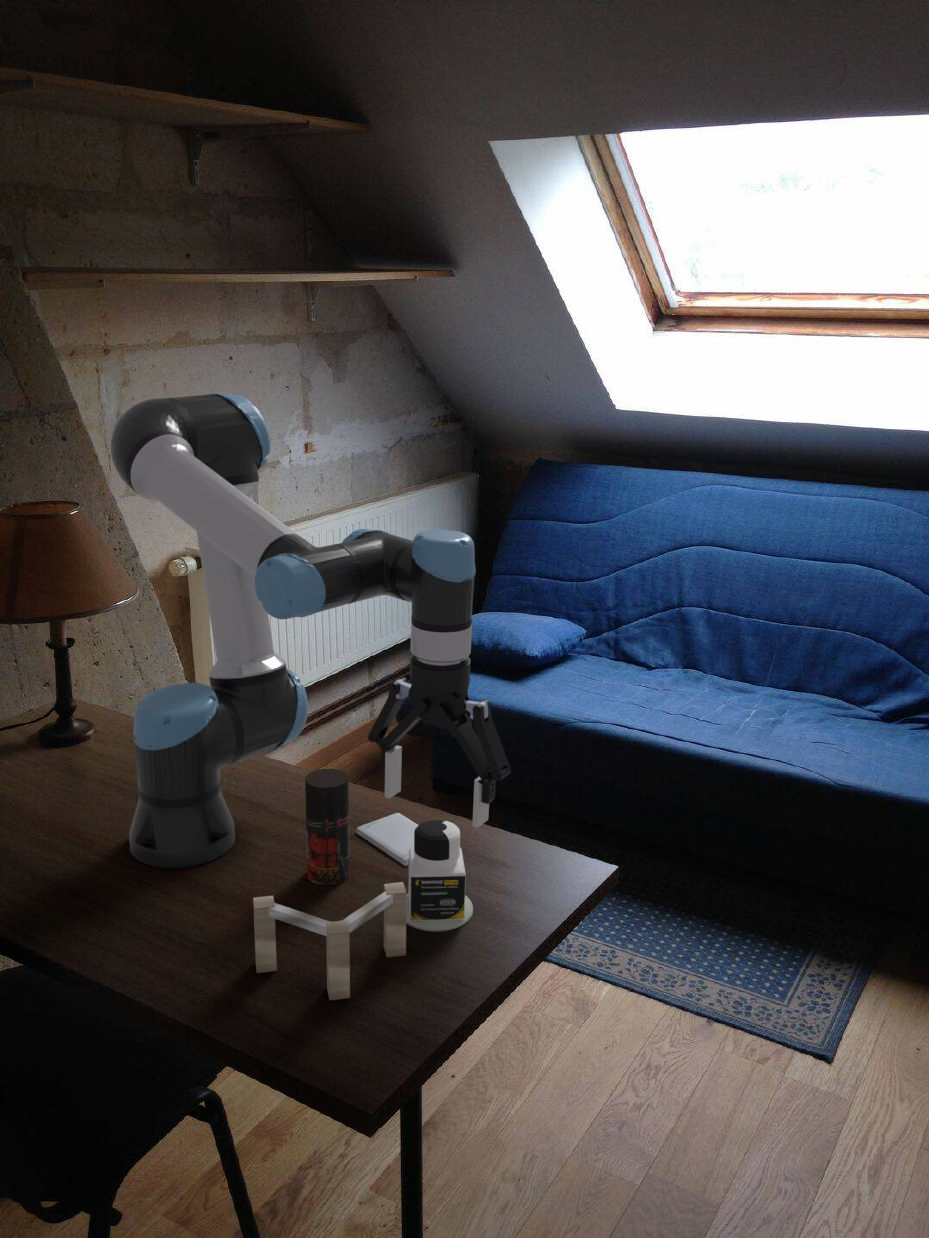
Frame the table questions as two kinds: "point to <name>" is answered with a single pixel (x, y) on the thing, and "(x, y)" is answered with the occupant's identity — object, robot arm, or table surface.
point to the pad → (440, 925)
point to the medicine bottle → (436, 873)
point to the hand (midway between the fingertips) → (435, 808)
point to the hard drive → (391, 835)
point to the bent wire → (332, 933)
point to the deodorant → (327, 826)
